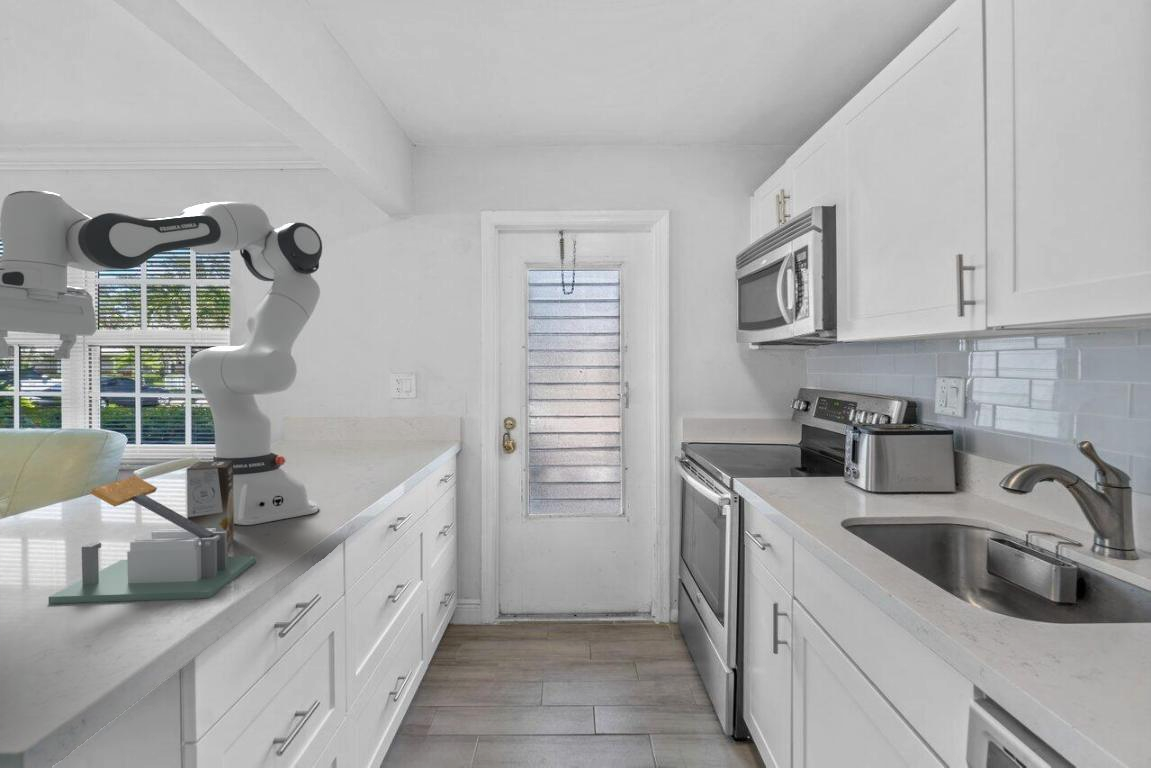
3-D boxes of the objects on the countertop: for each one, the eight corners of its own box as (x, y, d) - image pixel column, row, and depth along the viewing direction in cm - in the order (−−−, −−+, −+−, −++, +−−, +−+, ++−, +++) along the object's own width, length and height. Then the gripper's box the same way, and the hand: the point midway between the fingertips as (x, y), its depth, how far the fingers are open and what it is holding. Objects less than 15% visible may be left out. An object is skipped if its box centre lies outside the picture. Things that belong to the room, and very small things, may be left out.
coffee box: (227, 553, 108) (226, 466, 107) (186, 557, 105) (185, 469, 105) (234, 539, 116) (233, 459, 116) (197, 542, 114) (196, 461, 113)
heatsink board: (48, 603, 85) (47, 553, 84) (121, 565, 101) (120, 523, 100) (209, 598, 87) (208, 549, 87) (255, 561, 103) (255, 520, 103)
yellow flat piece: (89, 493, 88) (92, 488, 88) (132, 479, 97) (135, 475, 97) (191, 549, 89) (194, 544, 89) (223, 530, 99) (226, 526, 99)
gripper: (78, 289, 115) (78, 359, 116) (-48, 272, 95) (-48, 356, 95) (105, 289, 114) (105, 359, 115) (-17, 271, 94) (-16, 357, 94)
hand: (35, 358), depth 105 cm, fingers open, 8 cm apart
